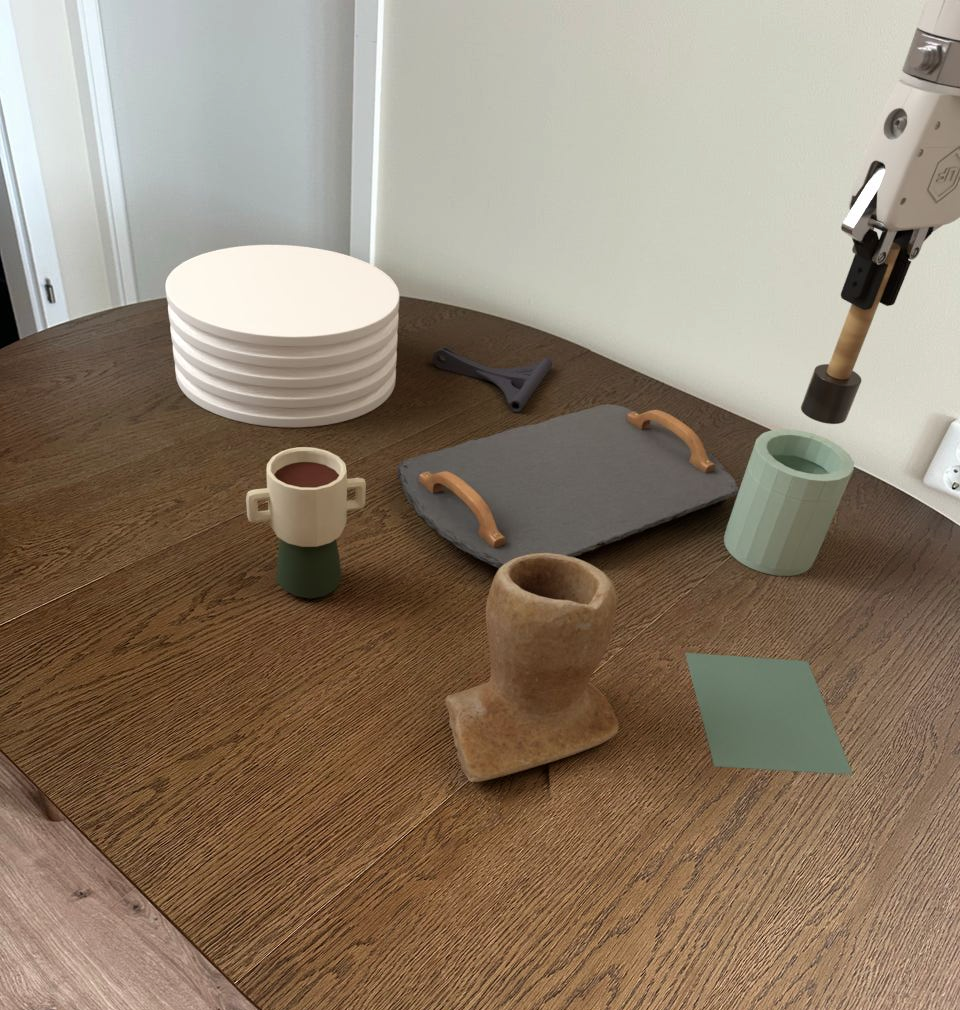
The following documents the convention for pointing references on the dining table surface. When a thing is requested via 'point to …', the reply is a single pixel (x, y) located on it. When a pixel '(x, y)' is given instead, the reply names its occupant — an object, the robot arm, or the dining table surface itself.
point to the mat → (765, 715)
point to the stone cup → (538, 669)
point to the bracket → (498, 375)
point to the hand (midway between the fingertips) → (866, 300)
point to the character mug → (307, 516)
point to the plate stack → (283, 334)
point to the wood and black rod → (843, 362)
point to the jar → (787, 501)
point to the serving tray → (564, 483)
